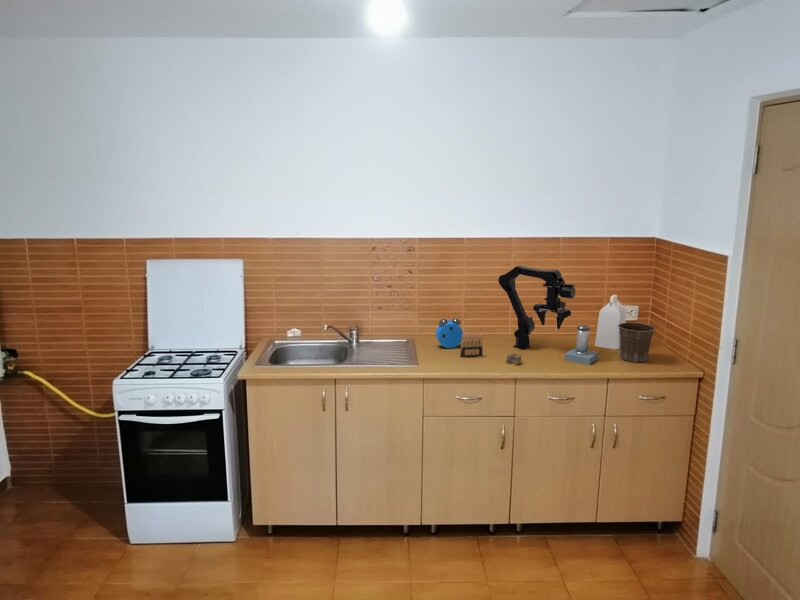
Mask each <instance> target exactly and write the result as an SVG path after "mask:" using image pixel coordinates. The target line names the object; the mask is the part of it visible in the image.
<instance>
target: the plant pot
mask: <svg viewBox="0 0 800 600" xmlns="http://www.w3.org/2000/svg"><path fill="white" fill-rule="evenodd" d="M618 327H619V334H620V348H619V349H620V351H619V352H620V353H619V354H620V359H621V360H623V361H627V362H630V363H635V362H639V363H644V362H647V361H648V358H649V352H650V348H651V342H652V338H653V336H654V331H655V330H656V328H655V326H653V325H651V324H646V323H641V322H626V323H621V324H619V325H618Z"/></svg>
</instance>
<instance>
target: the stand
mask: <svg viewBox="0 0 800 600" xmlns="http://www.w3.org/2000/svg"><path fill="white" fill-rule="evenodd" d="M575 351H576V347H574V348H572V349H570V350H569V351H567V352H566V353H564V360H565V361H569V362H573V363H578V364H583V365H587V366H590V365H592V364H593V363H594V362H595V361H598V359H599V354H600V352H598V351H593V350H589V349H588V354H587V355H579V354H576V353H575Z"/></svg>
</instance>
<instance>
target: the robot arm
mask: <svg viewBox="0 0 800 600" xmlns="http://www.w3.org/2000/svg"><path fill="white" fill-rule="evenodd" d="M561 273H562V272H561V271H560V270H558V269H539V268H538V269H537V268H534V267H528V266H522V265H516V266H514V267H513V268H512V269H511V270H509V271H507V272H506V273H504V274H501V275H500V276H499V277H498V284H499V286H500V287H501V288H502V290H504V292H505V293H506V294H507V297H508V299H509V301H510V304H511V306H512V309H513V311H514V315H515V316H516V318H517V328H518V329H516V330H515V331H514V332H513V335H514V337H515V344H514V345H513V346H512V347H514V348H516V349H519V350H526V349H530V348H532V346H531V345H530V341H531V339H530V335H531V334H532V332H533V331H534V330H535V325H536V323H535V322H534V320H533V317H532V316H530V317H529V316H528V315H527V313H526V311H525V308H524V306H523V303H522V301H521V298H520V296H519V294H518V292H517V290H516V278H518V277H519V276H520V275H522V276H526V277H531V278H537V279H540V280H541V281H544V282H545V283H544V284H542V287H544V288H545V287H546V297H544V301H545V303H542V302H540V303H535V304H534V305H533V308H532V311H534V312H535V313H536V315H537V316H538V318H539V321H540V324H541V325H542V326H544V325H545V324H546V323H545V322H546V314H547V312H550V313H553V314H556V316H555V318H556V320H555V321H556V328H557V330H560V328H561V326H562V324H563V322H564V321H565V319H566V318H568V317H571V316H572V311H571V310H570V309H567V308H566V305H567V302H564V301H561V298H563V299H564V298H566V299H572V300H573V299H574V298H575V296H576V292H577V291H576V287H575V284H574V283H573V284H572V283H566V281H565V279H564V278H563V277H562V274H561Z"/></svg>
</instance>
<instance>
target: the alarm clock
mask: <svg viewBox="0 0 800 600" xmlns="http://www.w3.org/2000/svg"><path fill="white" fill-rule="evenodd" d="M461 322H462V321H461V320H460V319H459V318H457V317H453V318H452V319H446V318H441V319H440V320H439V321H438V326H437V327H436V329H435V330H436V331H435V338H436V340H437V341H438V343H439V344H440V345H441V347H444V348H446V349H454V348H457V347H458V346H459V345H461V341H462V334H464V331H463V329H462V327H461V324H462V323H461Z"/></svg>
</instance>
